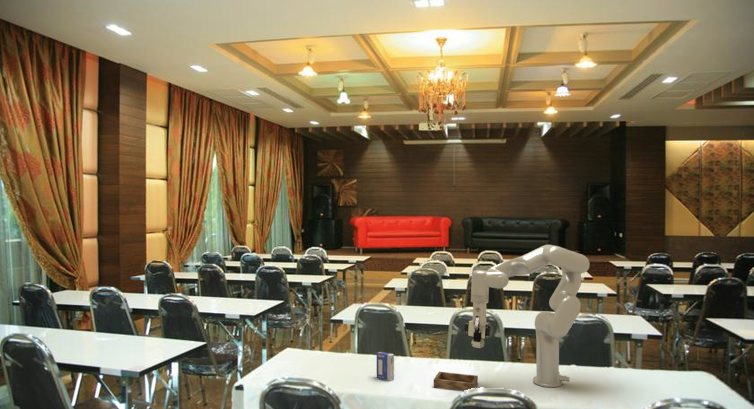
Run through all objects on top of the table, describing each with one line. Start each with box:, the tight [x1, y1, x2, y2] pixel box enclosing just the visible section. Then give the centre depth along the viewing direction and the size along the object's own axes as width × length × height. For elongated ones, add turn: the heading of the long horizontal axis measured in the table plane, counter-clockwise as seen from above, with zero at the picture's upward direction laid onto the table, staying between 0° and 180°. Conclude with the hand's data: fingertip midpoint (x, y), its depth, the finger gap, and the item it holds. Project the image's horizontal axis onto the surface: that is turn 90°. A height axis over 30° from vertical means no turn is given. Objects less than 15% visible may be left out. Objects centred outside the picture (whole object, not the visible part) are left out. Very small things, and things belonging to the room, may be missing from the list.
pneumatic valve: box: [463, 319, 494, 349], centre depth 233 cm, size 6×12×12 cm, turn 57°
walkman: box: [376, 351, 395, 382], centre depth 242 cm, size 8×3×12 cm, turn 57°
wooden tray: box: [433, 371, 479, 392], centre depth 234 cm, size 17×11×4 cm, turn 71°
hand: (478, 339), depth 233 cm, fingers closed on pneumatic valve, 5 cm apart
